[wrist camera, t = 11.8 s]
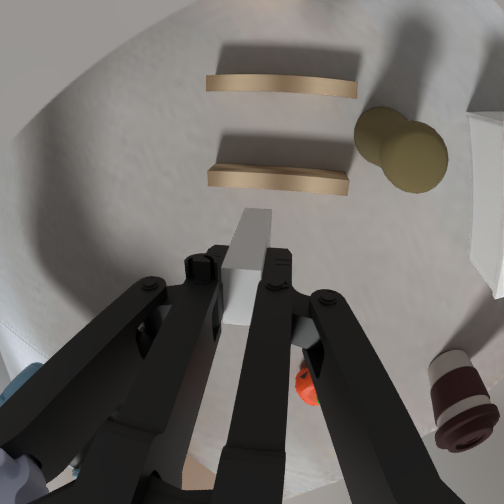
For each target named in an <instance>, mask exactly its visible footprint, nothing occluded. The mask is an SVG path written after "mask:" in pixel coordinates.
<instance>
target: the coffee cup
mask: <svg viewBox="0 0 504 504" xmlns="http://www.w3.org/2000/svg"><path fill="white" fill-rule="evenodd" d="M428 376H429V381H430V386H431V399H432V405H433V411H434V418H435V424H436V426H437V428H438V430H437V432H436V434H435V441H436V445H437V447H439V448H441V449H448V450H449V451H450V452H452V453H458V452H463V451H466V450H469V449H471V448H473V447H475V446H477V445H479V444H480V443H482V442H483V441H485V440H486V439H487V438H488V437H489V436H490V435H491V434H492V432H493V427H494V426H495V425H496V423H497V422H498V420H499V418H500V414H499V411H498V408H497V406H496V405H494V404H491V402H490V396H489V394H488V392H487V390H486V388H485V386H484V383H483V381H482V379H481V377H480V375H479V373H478V371H477V370H476V369H475V368H474V367H473V365H472V363H471V361H470V359H469V357H468V355H467V353H466V352H464V351H463V350H459V349H455V350H450V351H447V352H445V353H443V354H441V355H440V356H438V357H437V358H436V359H435V360H434V361H433V362H432V363H431V365H430V367H429V369H428Z"/></svg>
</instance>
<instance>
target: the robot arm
mask: <svg viewBox="0 0 504 504" xmlns="http://www.w3.org/2000/svg"><path fill="white" fill-rule="evenodd" d="M271 217H272V209H256V208H245V209H244V212H243V214H242V216H241V219H240V221H239V224H238V226H237V229H236V231H235V234H234V236H233V239H232V241H231V244H230V246H226V245H214V246H212V247H211V248H209V249H208V251H207V253H200V254H194V255H191V256H189V257H187V258H186V259H185V260H184V262H185V272H186V280H185V282H184V283H183V284H181V285H174V286H166V282H165V280H164V279H162V278H160V277H154V276H151V277H146V278H143V279H140V280H139V281H137V282H136V283H135V284H134V285H132V286H131V287H130V288H129V289H128V290H127V291H125V292H124V293H123V294H122V295H121V296H120V297H118V298H117V299H116V300H115V301H114V302H113V303H111V304H110V305H109V306H108V307H107V308H106V309H105V310H103V311H102V312H101V313H100V314H99V315H98V316H97V317H95V318H94V319H93V320H92V321H91V322H90V323H89V324H88V325H86V326H85V327H84V328H83V329H82V330H81V331H80V332H79V333H77V334H76V335H75V336H74V337H73V338H72V339H71V340H70V341H69V342H68V343H66V344H65V345H64V346H63V347H62V348H61V349H60V350H59V351H58V352H57V353H56V354H55V355H53V356H52V357H51V358H50V359H49V360H48V361H47V362H46V363H45V364H42V363H39V362H36V363H32V364H30V365H29V366H27V367H26V368H25V369H24V370H23V371H22V372H21V373H20V374H18V375H17V376H16V377H15V378H14V379H13V381H12V382H11V383H10V384H9V385H8V386H7V387H6V388H5V389H4V391H3V393H1V395H0V504H282V498H283V486H284V475H285V461H286V452H285V439H286V424H287V408H288V391H289V371H290V349H291V344H293V345H296V346H299V347H302V352H303V355H304V358H305V361H306V364H307V367H308V370H309V373H310V376H311V379H312V382H313V385H314V388H315V391H316V394H317V397H318V400H319V403H320V406H321V409H322V412H323V415H324V418H325V421H326V424H327V427H328V430H329V433H330V436H331V439H332V443H333V446H334V449H335V452H336V455H337V458H338V461H339V464H340V467H341V470H342V474H343V477H344V480H345V483H346V486H347V489H348V492H349V495H350V499H351V501H352V504H465V503H464V502H463V501H462V500H461V499H460V498H459V497H458V496H457V495H456V494H455V493H454V492H453V491H452V490H451V489H450V488H449V487H448V486H447V485H446V484H445V483H444V482H443V481H442V480H441V479H440V477H439V475H438V472H437V470H436V468H435V466H434V464H433V462H432V460H431V458H430V456H429V454H428V451H427V449H426V447H425V445H424V443H423V441H422V439H421V437H420V435H419V433H418V431H417V429H416V427H415V425H414V423H413V421H412V419H411V417H410V415H409V413H408V411H407V409H406V407H405V406H404V404H403V402H402V400H401V398H400V396H399V394H398V392H397V390H396V388H395V387H394V385H393V383H392V381H391V379H390V377H389V375H388V374H387V372H386V370H385V368H384V366H383V364H382V363H381V361H380V359H379V357H378V355H377V354H376V352H375V350H374V348H373V347H372V345H371V343H370V341H369V339H368V338H367V336H366V334H365V332H364V331H363V329H362V327H361V325H360V324H359V322H358V320H357V319H356V317H355V315H354V313H353V312H352V310H351V308H350V307H349V305H348V303H347V302H346V300H345V298H344V297H343V296H342V295H341V294H340V293H338V292H336V291H333V290H329V289H321V290H317V291H315V292H313V293H312V294H311V296H307V295H304V294H301V293H299V292H298V291H296V290H295V289H294V288H293V286H292V254H291V252H290V251H289V250H288V249H283V248H270V240H271ZM222 317H223V323H225V324H235V325H246V326H250V328H249V333H248V339H247V344H246V349H245V354H244V359H243V364H242V369H241V374H240V379H239V385H238V390H237V395H236V400H235V405H234V410H233V415H232V420H231V424H230V429H229V434H228V439H227V443H226V445H225V446H224V447H223V449H222V452H221V456H220V460H219V465H218V470H217V474H216V480H215V484H214V488H213V490H182V489H181V488H182V470H183V466H184V462H185V459H186V455H187V451H188V448H189V444H190V441H191V437H192V433H193V430H194V426H195V423H196V419H197V415H198V412H199V408H200V405H201V401H202V398H203V394H204V391H205V387H206V384H207V380H208V376H209V373H210V369H211V366H212V362H213V359H214V355H215V352H216V348H217V345H218V341H219V338H220V334H221V320H222ZM141 324H142V327H141V328H140V329H139V330H138V327H139V326H140V325H141ZM68 465H70V466H72V467H73V468H74V469H73V470H72V472H73V474H72V475H73V477H74V478H75V480H73V481H72V482H70V483H68V484H66V485H64V486H62V487H60V488H58V489H56V490H54V491H52V492H50V493H49V490H48V488H47V487H46V484H47V483H48V482H50V481H51V480H53V479H54V478H55V477H57V476H58V475H59V474H60V473H61V472H63V471H64V469H65V468H66V467H67V466H68Z"/></svg>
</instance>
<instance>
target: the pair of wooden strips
mask: <svg viewBox="0 0 504 504" xmlns="http://www.w3.org/2000/svg"><path fill="white" fill-rule="evenodd" d="M357 86H358V82H353V81H345V80H337V79H328V78H318V77H305V76H290V75H264V74H230V75H206V91H276V92H295V93H309V94H320V95H330V96H339V97H348V98H356V99H357ZM207 172H208V186H217V187H238V188H256V189H272V190H286V191H299V192H311V193H322V194H333V195H343V196H347V195H348V187H349V179H348V177H347V175H346V173H345V172H339V171H329V170H319V169H307V168H295V167H280V166H264V165H243V164H214V165H213V166H212V167H211V168H210V169H209V170H208V171H207Z"/></svg>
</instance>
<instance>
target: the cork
mask: <svg viewBox="0 0 504 504" xmlns="http://www.w3.org/2000/svg"><path fill="white" fill-rule="evenodd" d="M354 140H355V144H356V147H357V149H358V151H359V153H360V154H361V155H362V156H363V157H364V158H365V159H366V160H367V161H369V162H371V163H373V164H375V165H377V166H379V167H381V168H382V170H383V172H384V174H385V176H386V177H387V179H388V180H389V181H390V182H391V183H392V184H393V185H394V186H395V187H397V188H399V189H401V190H403V191H405V192H410V193H417V194H418V193H423V192H427V191H429V190H431V189H433V188H434V187H436V186H437V185H438V184H439V182H440V181H441V180H442V179H443V177H444V175H445V173H446V171H447V166H448V152H447V148H446V145H445V143H444V141H443V139H442V138H441V136H440V135H439V134H438V133H437V132H436V131H435V129H433V128H432V127H430V126H428V125H427V124H425V123H422V122H417V121H412V120H411V121H409V120H408V119H406V118H405V117H404V116H403V115H401V114H400V113H399V112H397V111H395V110H393V109H391V108H387V107H376V108H372V109H370V110H368V111H366V112H364V113H363V115H362V116H361V117H360V118H359V119H358V121H357V123H356V126H355V129H354Z"/></svg>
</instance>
